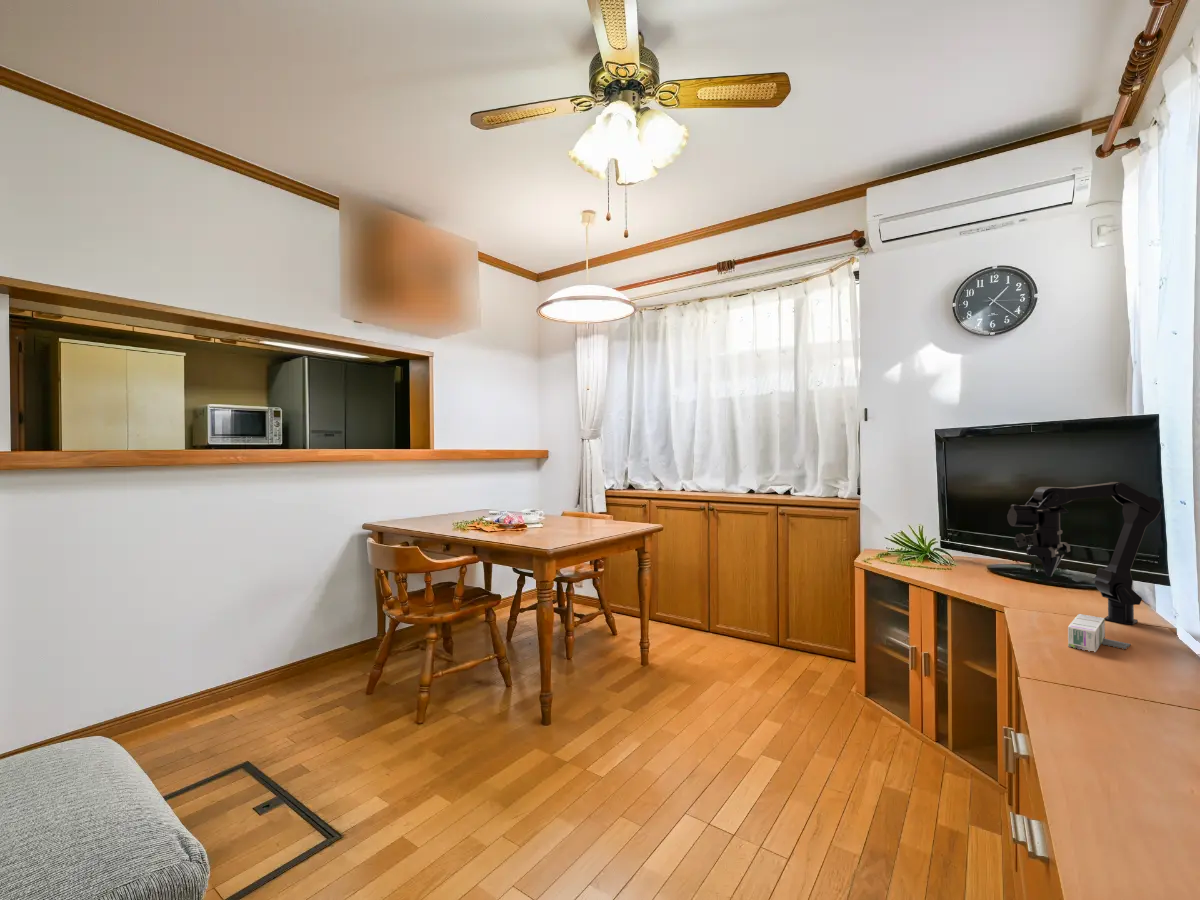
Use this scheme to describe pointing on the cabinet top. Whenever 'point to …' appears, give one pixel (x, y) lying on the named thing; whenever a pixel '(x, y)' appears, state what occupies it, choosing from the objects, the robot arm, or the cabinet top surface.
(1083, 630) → the syrup box
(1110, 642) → the slate mat
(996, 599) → the cabinet top surface
